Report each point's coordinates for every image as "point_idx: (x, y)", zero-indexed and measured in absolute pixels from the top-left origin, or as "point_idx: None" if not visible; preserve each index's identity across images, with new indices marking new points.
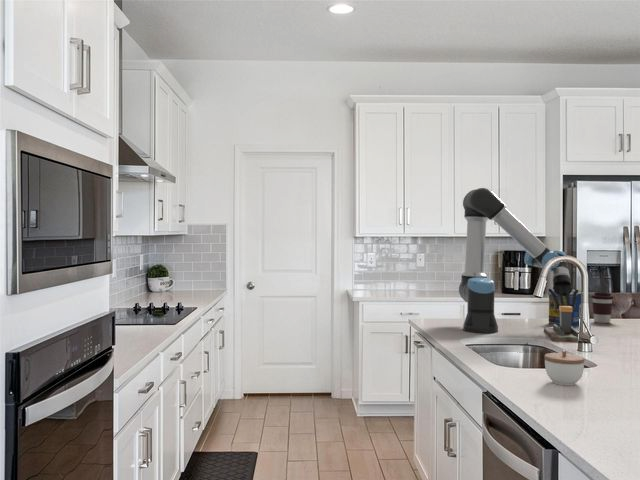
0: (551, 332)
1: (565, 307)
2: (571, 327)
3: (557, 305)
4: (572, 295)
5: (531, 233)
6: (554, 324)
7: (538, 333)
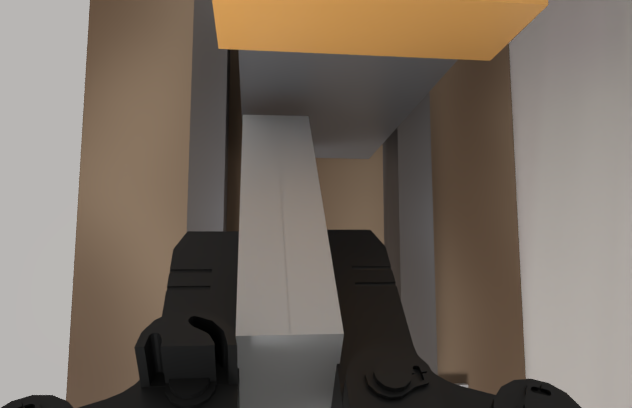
0: (476, 69)
1: None
2: (215, 152)
3: (547, 385)
4: None
5: None
6: None
7: (588, 234)
